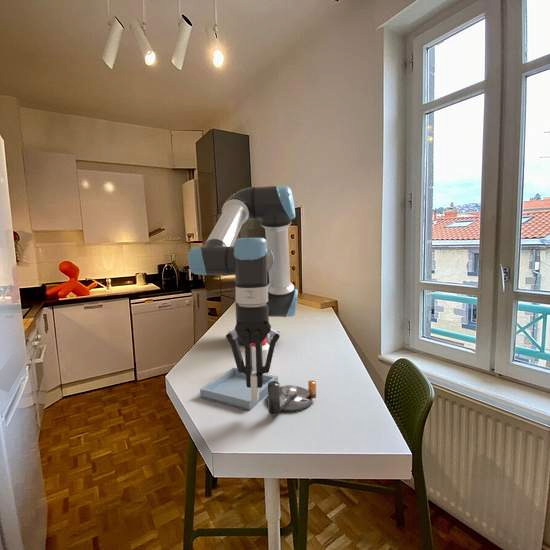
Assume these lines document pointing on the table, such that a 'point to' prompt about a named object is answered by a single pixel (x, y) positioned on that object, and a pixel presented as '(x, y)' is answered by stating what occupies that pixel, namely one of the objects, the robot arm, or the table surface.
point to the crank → (274, 396)
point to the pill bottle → (264, 355)
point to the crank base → (300, 398)
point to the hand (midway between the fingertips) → (255, 399)
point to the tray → (234, 389)
